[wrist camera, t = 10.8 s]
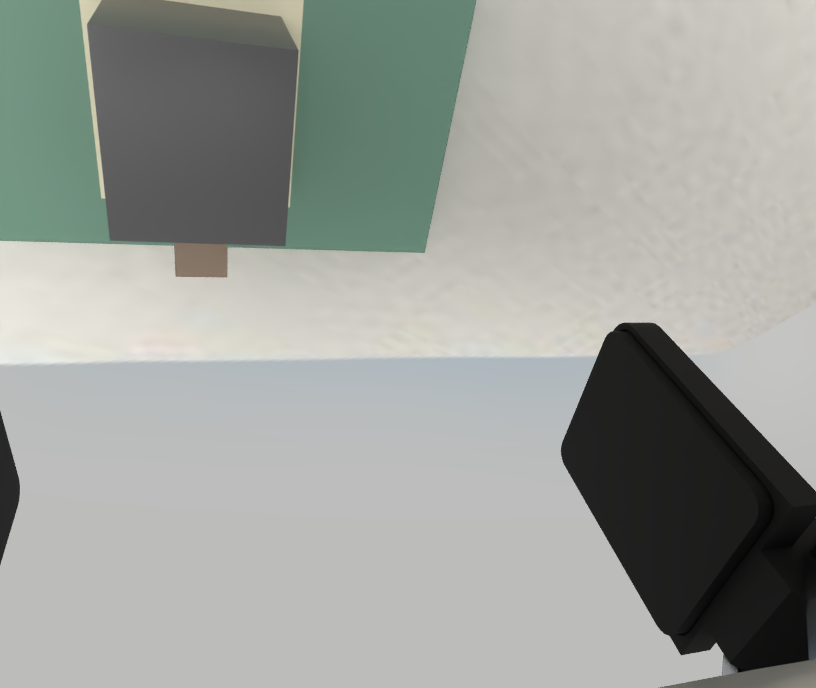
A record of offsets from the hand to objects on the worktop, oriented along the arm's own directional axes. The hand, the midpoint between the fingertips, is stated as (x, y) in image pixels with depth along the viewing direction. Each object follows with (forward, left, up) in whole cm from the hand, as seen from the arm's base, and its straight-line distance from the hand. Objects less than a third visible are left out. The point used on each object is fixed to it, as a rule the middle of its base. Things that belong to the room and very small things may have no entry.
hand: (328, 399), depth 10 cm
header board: (+2, +1, -19) cm, 19 cm away
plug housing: (+2, +2, -18) cm, 18 cm away
